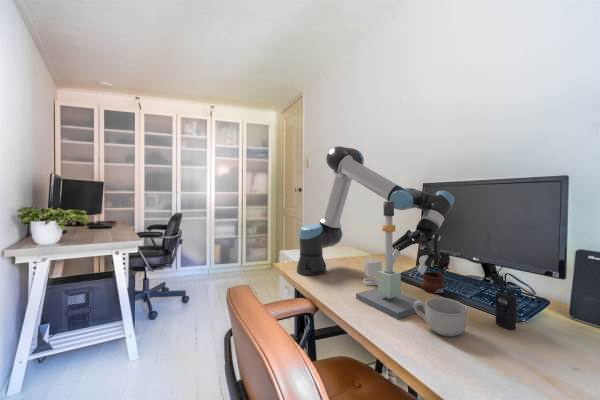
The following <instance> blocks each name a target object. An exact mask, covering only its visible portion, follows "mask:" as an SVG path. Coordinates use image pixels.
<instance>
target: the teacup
mask: <svg viewBox="0 0 600 400" xmlns="http://www.w3.org/2000/svg"><path fill="white" fill-rule="evenodd" d="M417 300H418V301H416V302H415V303H414V306H413V307H414V310H415V312H416V313H415V314H417V315H418V316H419V317H421V318H422V319H423V321H424V322H426V324H427V326H428V327H429V328H430V329H431V330H432V331H434V333H436V334H437V335H441V336H444V337H451V338H452V337H453V338H454V337H456V336H459V335H460V334H462V333H463V332H464V330H465V329H466V325H467V311H468V309H467V307H466V305H465V304H463V303H461V302H460V301H458V300H455V299H451V298H447V297H439V296H438V297H430V298H428V299H426V301H423V300H421V299H417ZM418 304H421V305H422V306H423V307H424V310H423V311H424V312H425V313H423V312H422V311H419V310H418V308H417V305H418Z"/></svg>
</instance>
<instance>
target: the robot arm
mask: <svg viewBox="0 0 600 400" xmlns="http://www.w3.org/2000/svg"><path fill="white" fill-rule="evenodd" d="M326 154H327V155H326V159H325V160H326V164H327V165H328V167H329V169H331V170H332V171H333V174H334V176H335V177H334V180H333V183H332V188H331V190H330V195H329V198H328V202H327V205H326V210H325V213H324V216H323V217H322V218H321V219H320V221H319V223H317V224H316V223H311V224H306V225H303V226H301V227H300V228H299V234H298V238H299V259H298V261H297V265H296V272H297V274H299V273H300V275H303V274H304V275H305V276H318V275H323V274H325V273H326V272H327V264H326V261H325V259H324V256H323V255H324V254H323V252H324V251H323V249H324V248H328V247H333V246H335V245H338V244H339V243H340V242H341V241H342V238H343V230H342V224H341V219H342V215H343V211H344V207H345V204H346V200H347V197H348V194H349V190H350V187H351V183H352V180H353V181H354V182H357V183H358V184H360V185H361V186H363V187H364V188H366V189H368V190H369V191H371V192H372V193H374V194H376V195H377V196H380V197H381V198H382V199H384V200H385V201H394V210H398V211H399V210H400V211H405V210H410V209H418V210H421V211H424V213H423V215H422V216H421V218H420V220H419V221H418V222H417V225H416V228H415V231H411V230H410V229H408V230H407V231H406V232H405V233H404V234H402V236H401V237H399V238H397V240H396V241H395V242H392V245H393V265H394V264H395V263H396V261H397V260H398V258H399V256H400V254H401V251H403V250H404V249H407V248H408V247H410V246H412V245H416V244H417V245H422V246H424V245H425V248H426V251H427V254H425V256H424V257H423V260H422V261H421V263H420V265H419V266H418V268H417V272H419V274H420V275H421V276H423V274H424V273H426V270H427V268H429V267H430V266H431V264H432V263H433V261H434V260H436V259H437V260H440V259H441V241H442V237H441V236H440V234H439V233H438V232H439V230H440V228H441V226H442V225H443V222H444V221H445V219H446V218H447V216H448V214H449V212H450V211H451V210H452V208H453V205H454V203H455V196H454V195H453V194H452V193H451V192H449V191H447V190H438V191H437V192H435V194H434V193H429V192H426V191H422V190H419V189H416V188H411V187H405V188H403V187H402V186H400V185H398V184H397V183H396V182H393V181H392V180H390V179H388V178H386V177H384V176H383V175H381V174H379V173H378V172H376V171H374V170H373V169H370V168H368V167H367V166H365V165H364V163H365V159H364V155H363V154H362V152H361V151H360V150H358V149H355V148H351V147H346V146H341V145H340V146H338V145H337V146H334V147H332V148H330V150H328V153H326ZM431 241H433V249H432V245H431ZM304 275H303V276H304Z"/></svg>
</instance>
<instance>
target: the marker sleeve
mask: <svg viewBox="0 0 600 400" xmlns="http://www.w3.org/2000/svg"><path fill="white" fill-rule="evenodd" d="M377 281H378V285H377V288H378V294H381V295H383V296H386V297H388V298H392V297H396V296H399V295H401V294H402V291H401V290H402V274H401V272H399V271H396V270H393V273H392V274H388V273H386V269H382V271H378V276H377Z"/></svg>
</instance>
